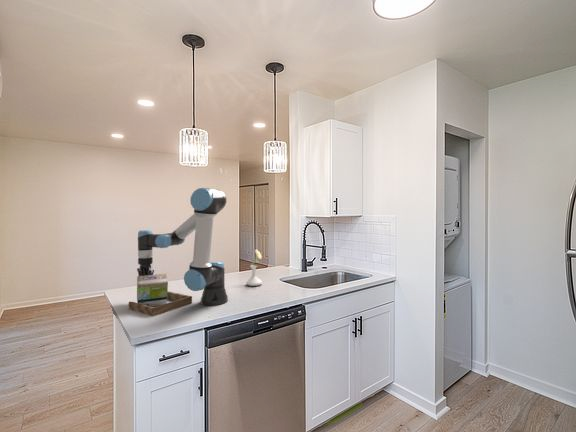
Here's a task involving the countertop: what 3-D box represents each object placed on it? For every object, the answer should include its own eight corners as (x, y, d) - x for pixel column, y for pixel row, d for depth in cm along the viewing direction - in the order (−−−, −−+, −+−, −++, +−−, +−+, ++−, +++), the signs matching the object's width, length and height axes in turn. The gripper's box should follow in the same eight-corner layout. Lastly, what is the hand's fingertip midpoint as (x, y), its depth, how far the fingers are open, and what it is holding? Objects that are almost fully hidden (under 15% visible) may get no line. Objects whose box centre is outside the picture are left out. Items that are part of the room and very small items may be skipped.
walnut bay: (192, 303, 170) (191, 296, 170) (153, 316, 149) (153, 308, 149) (168, 297, 181) (167, 291, 181) (128, 309, 160) (128, 301, 160)
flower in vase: (255, 287, 203) (254, 251, 203) (242, 285, 209) (242, 250, 209) (266, 283, 214) (266, 249, 214) (254, 282, 220) (254, 248, 220)
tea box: (137, 309, 161) (137, 285, 156) (136, 298, 169) (136, 275, 165) (167, 304, 168) (168, 281, 163) (165, 294, 176) (166, 272, 172)
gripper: (158, 257, 172) (158, 297, 172) (144, 255, 178) (144, 294, 179) (146, 259, 165) (146, 301, 166) (132, 257, 172) (132, 297, 173)
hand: (145, 297), depth 172 cm, fingers closed
